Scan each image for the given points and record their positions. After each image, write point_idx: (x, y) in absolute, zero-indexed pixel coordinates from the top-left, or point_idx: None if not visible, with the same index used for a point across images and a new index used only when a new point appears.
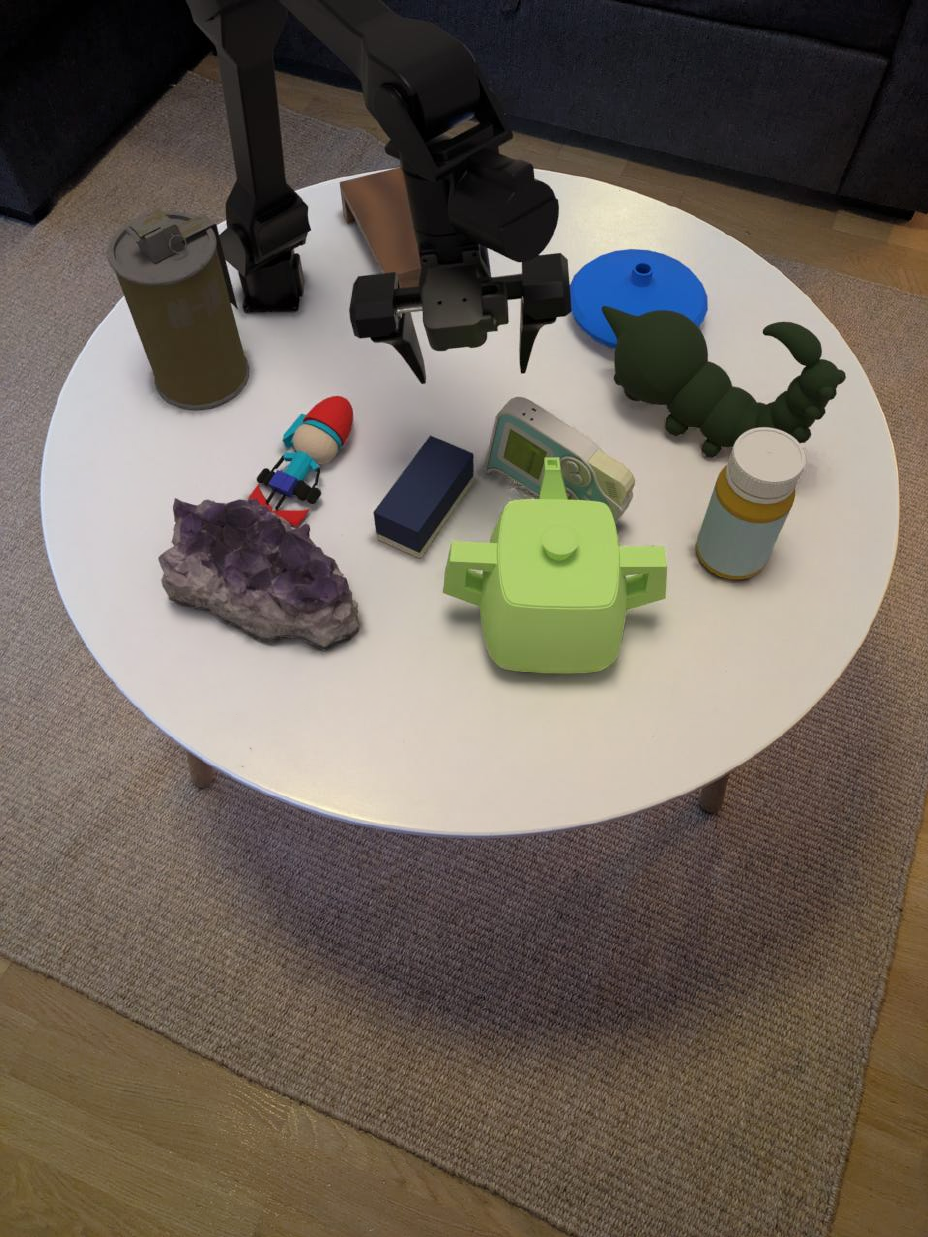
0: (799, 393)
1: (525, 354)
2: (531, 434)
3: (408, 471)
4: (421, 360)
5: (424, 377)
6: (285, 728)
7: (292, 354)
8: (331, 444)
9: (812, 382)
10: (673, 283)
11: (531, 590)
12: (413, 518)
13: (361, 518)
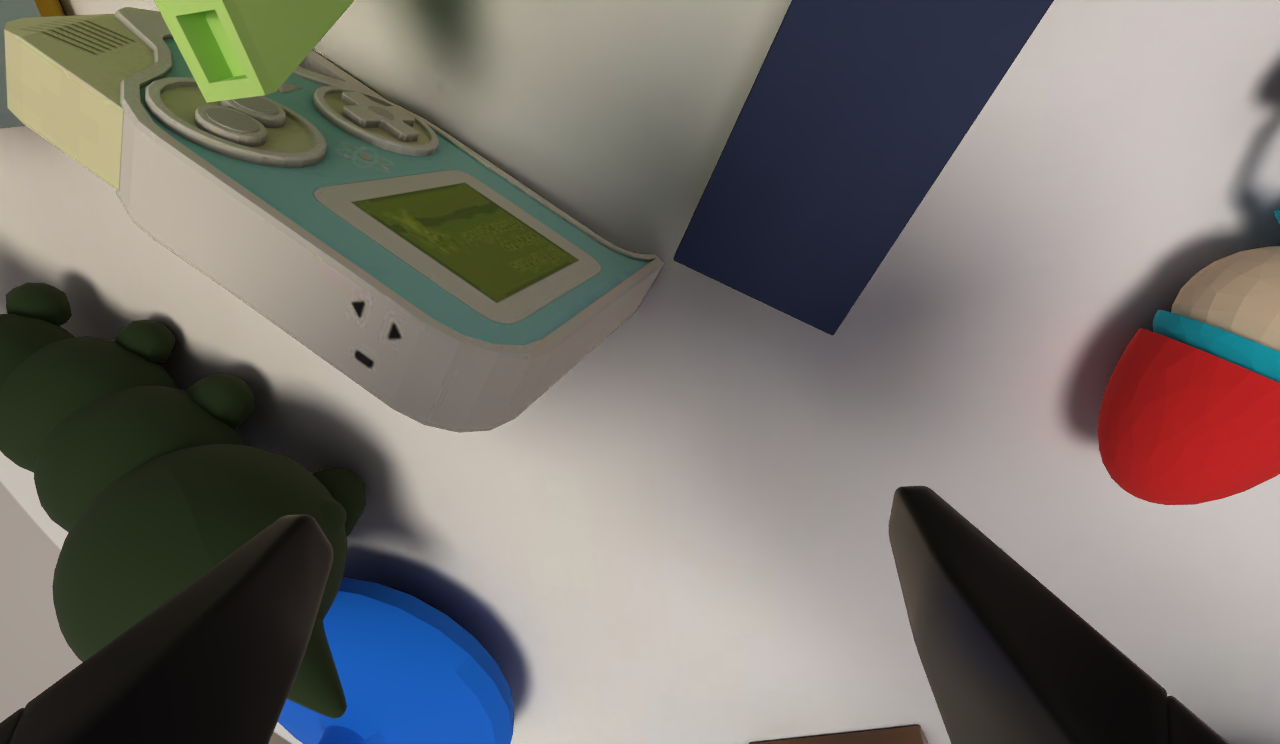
0: None
1: (141, 641)
2: (389, 258)
3: (930, 154)
4: (947, 654)
5: (913, 523)
6: None
7: (1225, 645)
8: (1236, 304)
9: None
10: (297, 720)
11: None
12: None
13: (1099, 24)
